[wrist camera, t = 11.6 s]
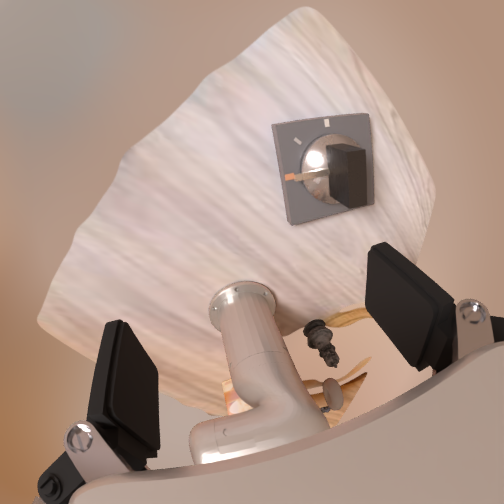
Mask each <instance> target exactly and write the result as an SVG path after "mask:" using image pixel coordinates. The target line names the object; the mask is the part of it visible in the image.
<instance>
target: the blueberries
mask: <svg viewBox="0 0 504 504" xmlns="http://www.w3.org/2000/svg"><path fill="white" fill-rule="evenodd" d="M330 409H331V408H330V407H329V406H328V407H323V408H321V411H322V412H323V413H324V412H327V413H328V412H329V411H330Z"/></svg>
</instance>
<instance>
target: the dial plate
mask: <svg viewBox="0 0 504 504" xmlns="http://www.w3.org/2000/svg"><path fill="white" fill-rule="evenodd" d="M271 126H272V131H273V136H274V142H275V148H276V153H277V159H278V165H279V171H280V177H281V183H282V189H283V195H284V202H285V208H286V215H287V221H288V222H289V223H290V225H291V226H293V225H296V224H300V223H304V222H308V221H311V220H315V219H319V218H322V217H326V216H330V215H334V214H338V213H341V212H345V211H349V210H353V209H357V208H360V207H356V208H352V209H349V208H347V207H346V206H344V205H343V204H341V203H336V204H329V203H324V202H322V201H319V200H318V199H316V198H315V197H313V196H312V195H311V194H310V193H309V192H308V191H307V190H306V189H305V187H304V185H303V183H302V181H294V174H297V173H300V161H301V158H302V155H303V153H304V151H305V149H306V147H307V146H308V145H309V144H310V143H311V142H312V141H313V140H314V139H316V138H317V137H319V136H321V135H324V134H329V133H335V134H341V135H345V136H347V137H350V138H351V139H353V140H354V141H355V142H356V143H357V144H358V145H359V146H360V148H362V149H366V169H367V205H365V206H368V205H372V204H374V176H373V157H372V143H371V132H370V122H369V114H366V113H356V114H345V115H335V116H326V117H318V118H310V119H303V120H296V121H290V122H284V123H278V124H272V125H271ZM361 207H364V206H361Z"/></svg>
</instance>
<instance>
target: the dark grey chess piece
mask: <svg viewBox="0 0 504 504" xmlns="http://www.w3.org/2000/svg"><path fill="white" fill-rule="evenodd" d="M303 333H304V335H305V336H306V337H308V346H309V347H310V348H312V349H318V350H319V352H320V357H322V358H323V359H324V361H325V362H326V364H327V366H329V367H335V368H337V364H338V363H339V357H338V355H337V353H336V352H335V347H334V346H333V345H332V344H331V343H330V340H331V339H332V336H333V333H332V331H331V330H329V329H328V328H326V327H325V322H324V321H323V320H319V319H318V320H313V321H311V322H309V323H308V324H307V325H306V326H305V328H304V330H303Z"/></svg>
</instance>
